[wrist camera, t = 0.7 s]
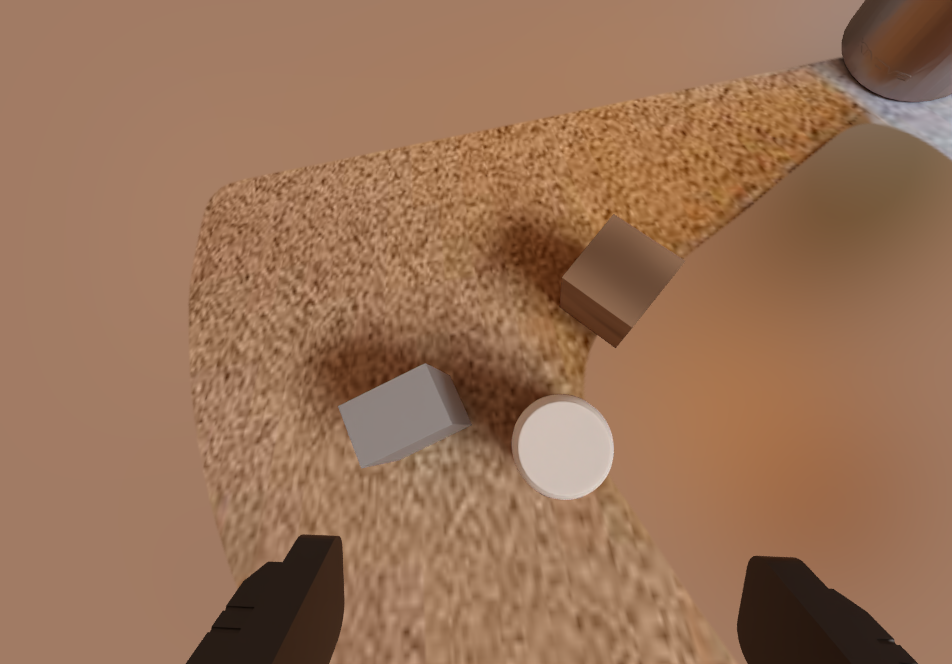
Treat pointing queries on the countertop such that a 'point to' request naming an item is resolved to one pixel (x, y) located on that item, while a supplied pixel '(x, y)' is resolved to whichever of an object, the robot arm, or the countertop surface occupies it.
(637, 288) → the walnut block
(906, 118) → the countertop surface
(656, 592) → the countertop surface
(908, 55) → the robot arm
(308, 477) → the countertop surface
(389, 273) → the countertop surface
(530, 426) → the pill bottle
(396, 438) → the slate block
